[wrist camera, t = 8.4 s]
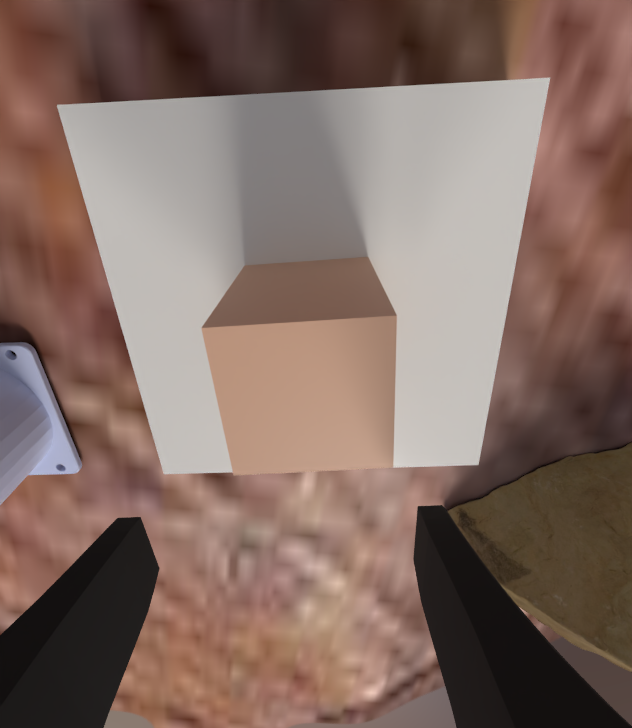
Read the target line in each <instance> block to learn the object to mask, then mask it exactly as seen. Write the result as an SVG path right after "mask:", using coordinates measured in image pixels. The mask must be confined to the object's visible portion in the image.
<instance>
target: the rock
mask: <svg viewBox="0 0 632 728" xmlns="http://www.w3.org/2000/svg"><path fill="white" fill-rule="evenodd" d="M448 513H449V514H450V516H451V518H452V519H453V521H454V522H455V524H456V525H457V527H458V528H459V529H460V531H461V532H462V534H463V535H464V537H465V538H466V540H467V541H468V542H469V544H470V545H471V547H472V548H473V549H474V551H475V552H476V553H477V555H478V556H479V558H480V559H481V560H482V562H483V563H484V564H485V566H486V567H487V568H488V569H489V571H490V572H491V573H492V575H493V576H494V577H495V578H496V580H497V581H498V582H499V583H500V585H501V586H502V587H503V589H504V590H505V591H506V592H507V594H508V595H509V596H510V597H511V598H512V600H513V601H514V602H515V603H516V605H517V606H518V607H520V608H522V609H523V610H524V611H526V612H528V613H529V614H531V615H532V616H534V617H535V618H536V619H537V620H538V621H539V622H541V623H543V624H544V625H547V626H548V627H550V628H551V629H552V630H553V631H554V632H556V633H557V634H558V635H560V636H562V637H564V638H565V639H566V640H567V641H569V642H570V643H572V644H574V645H575V646H577V647H579V648H581V649H584V650H587V651H591V652H594V653H596V654H599V655H601V656H602V657H604V658H605V659H607V660H608V661H610V662H612V663H613V664H615V665H617V666H619V667H622V668H624V669H626V670H628V671H630V672H632V442H631V443H629V444H627V445H626V446H625V447H623V448H620V449H617V450H610V451H604V452H600V453H597V454H594V453H588V454H583V455H578V456H575V457H572V456H569V457H566V458H564V459H562V460H560V461H558V462H555V463H553V464H550V465H547V466H545V467H541V468H539V469H537V470H535V471H534V472H532V473H529V474H527V475H524V476H523V477H521V478H520V479H519V480H517V481H515V482H512V483H510V484H508V485H505V486H501V487H499V488H498V489H496V490H494V491H492V492H491V493H490V494H489V495H488V496H485V497H483V498H482V499H479V500H475V501H470V502H468V503H465V504H463V505H458V506H456V507H454V508H453V509H450V510H448Z"/></svg>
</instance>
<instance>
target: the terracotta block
mask: <svg viewBox="0 0 632 728" xmlns="http://www.w3.org/2000/svg"><path fill="white" fill-rule="evenodd" d="M201 329H202V334H203V338H204V343H205V347H206V352H207V357H208V361H209V366H210V370H211V375H212V379H213V384H214V389H215V393H216V398H217V402H218V407H219V411H220V416H221V420H222V425H223V430H224V434H225V439H226V443H227V448H228V452H229V457H230V461H231V466H232V471H233V475H253V474H273V473H294V472H314V471H334V470H355V469H375V468H393V461H394V419H395V377H396V335H397V315H396V313H395V311H394V308H393V306H392V304H391V302H390V300H389V298H388V296H387V294H386V292H385V290H384V288H383V286H382V284H381V282H380V280H379V278H378V276H377V274H376V272H375V270H374V268H373V266H372V264H371V261H370V259H369V257H358V258H344V259H330V260H315V261H301V262H287V263H273V264H258V265H245V266H244V267H243V268H242V270H241V271H240V273H239V274H238V276H237V277H236V279H235V280H234V281H233V283H232V284H231V286H230V287H229V289H228V290H227V292H226V293H225V294H224V296H223V297H222V299H221V300H220V302H219V303H218V305H217V306H216V307H215V309H214V310H213V312H212V313H211V315H210V316H209V318H208V319H207V320H206V322H205V323H204V325H203V326H202V328H201Z"/></svg>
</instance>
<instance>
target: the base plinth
mask: <svg viewBox="0 0 632 728" xmlns="http://www.w3.org/2000/svg"><path fill="white" fill-rule="evenodd" d="M549 81H550V78H537V79H519V80H501V81H483V82H465V83H446V84H428V85H410V86H392V87H374V88H356V89H338V90H320V91H302V92H284V93H266V94H248V95H230V96H212V97H194V98H176V99H158V100H139V101H121V102H103V103H85V104H67V105H57V107H58V111H59V114H60V118H61V121H62V125H63V128H64V132H65V135H66V138H67V142H68V145H69V149H70V152H71V156H72V159H73V163H74V166H75V169H76V173H77V176H78V180H79V183H80V187H81V190H82V194H83V197H84V200H85V204H86V207H87V211H88V214H89V218H90V221H91V225H92V228H93V231H94V235H95V238H96V242H97V245H98V249H99V252H100V256H101V259H102V262H103V266H104V269H105V273H106V276H107V280H108V283H109V287H110V290H111V293H112V297H113V300H114V304H115V307H116V311H117V314H118V317H119V321H120V324H121V328H122V331H123V335H124V338H125V342H126V345H127V348H128V352H129V355H130V359H131V362H132V366H133V369H134V373H135V376H136V379H137V383H138V386H139V390H140V393H141V397H142V400H143V404H144V407H145V410H146V414H147V417H148V421H149V424H150V428H151V431H152V435H153V438H154V441H155V445H156V448H157V452H158V455H159V459H160V462H161V466H162V469H163V472H164V474H186V473H220V472H233V471H232V466H231V461H230V457H229V452H228V448H227V443H226V439H225V434H224V430H223V425H222V420H221V416H220V411H219V407H218V402H217V398H216V393H215V389H214V384H213V379H212V375H211V370H210V366H209V361H208V357H207V352H206V347H205V343H204V338H203V334H202V329H201V328H202V326H203V325H204V323H205V322H206V320H207V319H208V318H209V316H210V315H211V313H212V312H213V310H214V309H215V307H216V306H217V305H218V303H219V302H220V300H221V299H222V297H223V296H224V294H225V293H226V292H227V290H228V289H229V287H230V286H231V284H232V283H233V281H234V280H235V279H236V277H237V276H238V274H239V273H240V271H241V270H242V268H243V267H244V266H245V265H258V264H273V263H287V262H301V261H315V260H330V259H344V258H358V257H369V259H370V261H371V264H372V266H373V268H374V270H375V272H376V274H377V276H378V278H379V280H380V282H381V284H382V286H383V288H384V290H385V292H386V294H387V296H388V298H389V300H390V302H391V304H392V306H393V308H394V311H395V313H396V315H397V335H396V377H395V419H394V461H393V467H426V466H461V465H478V464H479V459H480V454H481V448H482V443H483V437H484V432H485V427H486V421H487V416H488V410H489V405H490V400H491V394H492V389H493V383H494V378H495V373H496V367H497V362H498V356H499V351H500V346H501V340H502V335H503V329H504V324H505V319H506V313H507V308H508V302H509V297H510V292H511V286H512V281H513V275H514V270H515V265H516V259H517V254H518V248H519V243H520V238H521V232H522V227H523V221H524V216H525V210H526V205H527V200H528V194H529V189H530V183H531V178H532V173H533V167H534V162H535V156H536V151H537V146H538V140H539V135H540V129H541V124H542V119H543V113H544V108H545V102H546V97H547V92H548V86H549Z"/></svg>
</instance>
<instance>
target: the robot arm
mask: <svg viewBox="0 0 632 728" xmlns="http://www.w3.org/2000/svg"><path fill="white" fill-rule="evenodd" d="M11 351H13V352H15V354H16V356H15V355H13V354H12V352H11ZM61 464H62V465H61ZM63 465H64V466H63ZM81 467H82V462H81V460H80V458H79V455H78V453H77V450H76V448H75V445H74V443H73V440H72V438H71V436H70V433H69V431H68V428H67V426H66V423H65V421H64V418H63V416H62V414H61V411H60V409H59V406H58V404H57V401H56V399H55V396H54V394H53V391H52V389H51V387H50V384H49V382H48V379H47V377H46V374H45V372H44V369H43V367H42V365H41V362H40V360H39V357H38V355H37V352H36V350H35V349H34V347H32V346H31V345H30V344H28V343H24V342H14V343H0V505H1V504H2V503H3V502H4V501H5V499H6V498H7V497H8V496H9V495H10V494H11V493H12V492H13V491H14V490H15V489H16V487H17V486H18V485H19V484H20V483H21V482H22V481H23V480H24V479H25V478H26V477H27V475H45V474H74V473H77V472H78V471H79V470H80V469H81ZM414 565H415V570H416V576H417V582H418V587H419V592H420V597H421V602H422V606H423V610H424V613H425V617H426V620H427V624H428V627H429V631H430V634H431V638H432V641H433V645H434V648H435V652H436V655H437V659H438V662H439V666H440V669H441V672H442V676H443V679H444V683H445V686H446V690H447V693H448V696H449V700H450V703H451V707H452V711H453V715H454V719H455V723H456V727H457V728H632V726H631V725H630V724H629V723H628V722H627V721H626V720H625V719H623V718H622V717H621V716H620V715H619V714H618V713H617V712H616V711H615V710H614V709H613V708H612V707H611V706H610V705H609V704H608V703H607V702H606V701H605V700H604V699H603V698H602V697H601V696H600V695H599V694H598V693H597V692H596V691H595V690H594V689H593V688H592V687H591V686H590V685H589V684H588V683H587V682H586V681H585V680H584V679H583V678H582V677H581V676H580V675H579V674H578V673H577V672H576V671H575V670H574V668H573V667H572V666H571V665H570V664H569V663H568V662H567V661H566V660H565V659H564V658H563V657H562V656H561V655H560V654H559V653H558V652H557V650H556V649H555V648H554V647H553V646H552V645H551V644H550V643H549V642H548V640H547V639H546V638H545V637H544V636H543V635H542V634H541V633H540V631H539V630H538V629H537V628H536V627H535V626H534V625H533V623H532V622H531V621H530V620H529V619H528V618H527V616H526V615H525V614H524V613H523V612H522V611H521V609H520V608H519V607H518V606H517V605H516V603H515V602H514V601H513V600H512V598H511V597H510V596H509V595H508V594H507V592H506V591H505V590H504V589H503V587H502V586H501V585H500V583H499V582H498V581H497V580H496V578H495V577H494V576H493V575H492V573H491V572H490V571H489V569H488V568H487V567H486V566H485V564H484V563H483V562H482V560H481V559H480V558H479V556H478V555H477V553H476V552H475V551H474V549H473V548H472V547H471V545H470V544H469V542H468V541H467V540H466V538H465V537H464V535H463V534H462V532H461V531H460V529H459V528H458V527H457V525H456V524H455V522H454V521H453V519H452V518H451V516H450V514H449V513H448V511H447V510H446V508H444V507H443V506H442V505H440V506H418V511H417V523H416V535H415V548H414ZM158 572H159V566H158V563H157V561H156V558H155V555H154V552H153V550H152V547H151V544H150V541H149V539H148V536H147V533H146V531H145V528H144V525H143V522H142V520H141V517H131V518H117V519H116V520H115V521H114V522H113V523H112V524H111V525H110V526H109V527H108V528H107V529H106V530H105V531H104V533H103V534H102V535H101V536H100V537H99V538H98V539H97V540H96V541H95V542H94V543H93V544H92V545H91V546H90V547H89V548H88V549H87V550H86V551H85V552H84V553H83V554H82V555H81V556H80V557H79V558H78V559H77V560H76V561H75V563H74V564H73V565H72V566H71V567H70V568H69V569H68V570H67V571H66V572H65V573H64V574H63V575H62V576H61V577H60V578H59V579H58V580H57V581H56V582H55V583H54V584H53V585H52V586H51V587H50V588H49V589H48V590H47V591H46V592H45V593H44V594H43V595H42V596H41V597H40V598H39V599H38V600H37V601H36V602H35V603H34V604H33V605H32V606H31V607H30V608H29V609H28V610H26V611H25V612H24V613H23V614H22V615H21V616H20V617H19V618H18V619H17V620H16V621H15V622H14V623H13V624H12V625H11V626H10V627H9V628H8V629H6V630H5V631H4V632H3V633H2V634H1V635H0V728H103V727H104V725H105V722H106V719H107V716H108V713H109V711H110V708H111V706H112V703H113V701H114V698H115V696H116V693H117V690H118V688H119V685H120V683H121V680H122V678H123V675H124V672H125V670H126V667H127V665H128V662H129V660H130V657H131V655H132V652H133V649H134V647H135V644H136V642H137V639H138V636H139V634H140V631H141V629H142V626H143V623H144V621H145V618H146V615H147V613H148V610H149V606H150V603H151V599H152V595H153V592H154V588H155V584H156V580H157V576H158Z"/></svg>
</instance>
